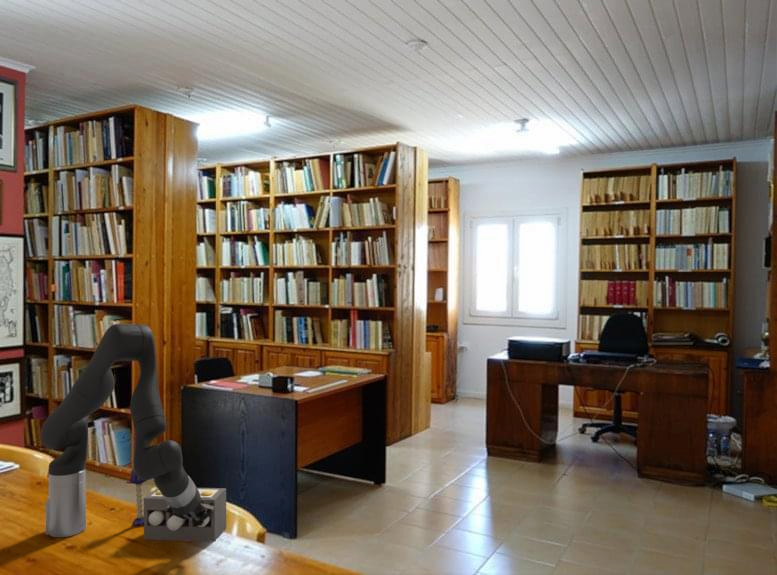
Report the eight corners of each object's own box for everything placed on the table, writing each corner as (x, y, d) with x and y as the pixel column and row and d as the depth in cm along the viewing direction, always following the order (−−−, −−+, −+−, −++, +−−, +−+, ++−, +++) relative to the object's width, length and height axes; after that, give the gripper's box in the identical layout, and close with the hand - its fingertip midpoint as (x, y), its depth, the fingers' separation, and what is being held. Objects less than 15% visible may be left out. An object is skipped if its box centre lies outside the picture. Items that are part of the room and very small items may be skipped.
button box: (143, 539, 163) (143, 496, 162) (159, 526, 172) (158, 484, 171) (214, 541, 161) (214, 497, 161) (226, 528, 170) (226, 486, 170)
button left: (148, 525, 162) (148, 512, 162) (159, 516, 168) (159, 503, 168) (161, 525, 161) (161, 512, 161) (171, 516, 168) (171, 503, 168)
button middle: (167, 530, 158) (166, 517, 158) (177, 520, 165) (177, 507, 165) (180, 530, 158) (179, 517, 158) (190, 521, 165) (189, 508, 165)
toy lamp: (141, 528, 170) (140, 470, 170) (126, 526, 171) (126, 469, 171) (151, 521, 175) (150, 465, 175) (137, 520, 176) (136, 464, 176)
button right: (194, 526, 161) (194, 513, 161) (203, 517, 167) (203, 504, 167) (207, 527, 160) (207, 514, 160) (216, 517, 167) (216, 505, 167)
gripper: (210, 479, 150) (227, 509, 162) (159, 477, 151) (180, 508, 163) (202, 507, 145) (220, 536, 157) (149, 506, 146) (171, 535, 158)
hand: (199, 522), depth 160 cm, fingers closed
